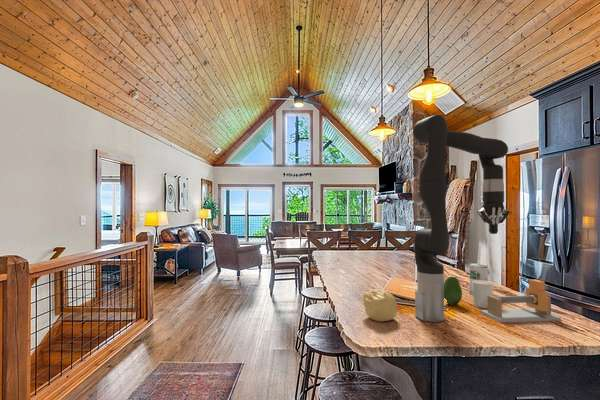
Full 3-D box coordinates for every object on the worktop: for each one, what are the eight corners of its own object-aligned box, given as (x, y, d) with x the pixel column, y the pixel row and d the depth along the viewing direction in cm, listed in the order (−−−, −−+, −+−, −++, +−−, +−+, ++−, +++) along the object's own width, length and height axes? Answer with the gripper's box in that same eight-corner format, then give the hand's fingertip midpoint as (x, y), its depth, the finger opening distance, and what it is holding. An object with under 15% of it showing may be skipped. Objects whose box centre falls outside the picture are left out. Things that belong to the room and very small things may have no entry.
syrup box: (468, 293, 157) (468, 263, 158) (478, 292, 159) (478, 263, 160) (478, 296, 152) (478, 265, 152) (488, 295, 154) (488, 264, 154)
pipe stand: (500, 322, 118) (499, 300, 118) (480, 312, 128) (480, 292, 129) (560, 320, 120) (560, 298, 120) (536, 311, 131) (535, 291, 131)
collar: (541, 311, 121) (540, 282, 122) (526, 305, 128) (525, 278, 129) (548, 310, 122) (548, 282, 122) (533, 305, 129) (532, 278, 129)
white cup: (496, 309, 133) (496, 284, 133) (475, 308, 135) (475, 283, 135) (489, 303, 141) (489, 280, 141) (469, 302, 142) (469, 279, 143)
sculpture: (358, 315, 125) (358, 286, 125) (387, 312, 128) (387, 285, 128) (372, 325, 114) (372, 294, 114) (403, 322, 117) (403, 292, 117)
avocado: (465, 304, 139) (465, 276, 139) (456, 308, 134) (456, 279, 134) (446, 300, 145) (446, 273, 145) (438, 304, 140) (438, 275, 140)
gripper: (484, 190, 127) (484, 234, 127) (515, 190, 129) (515, 234, 128) (471, 191, 135) (472, 233, 134) (501, 191, 136) (501, 233, 136)
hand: (493, 233), depth 131 cm, fingers closed
